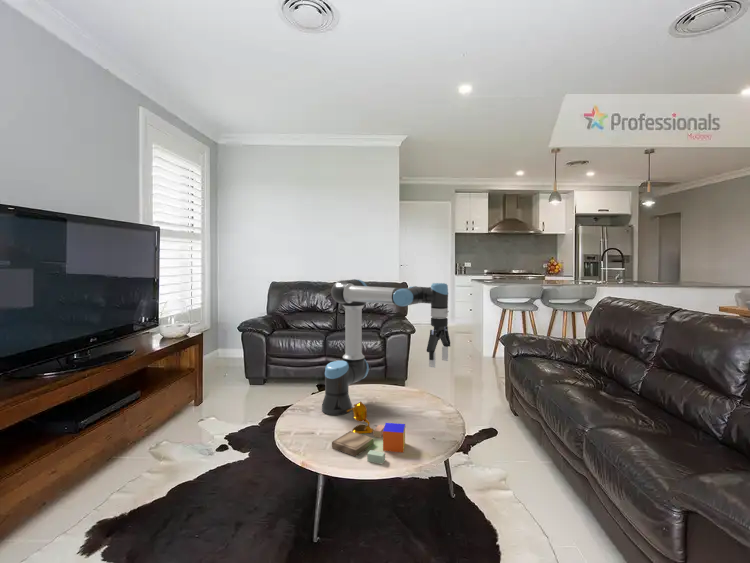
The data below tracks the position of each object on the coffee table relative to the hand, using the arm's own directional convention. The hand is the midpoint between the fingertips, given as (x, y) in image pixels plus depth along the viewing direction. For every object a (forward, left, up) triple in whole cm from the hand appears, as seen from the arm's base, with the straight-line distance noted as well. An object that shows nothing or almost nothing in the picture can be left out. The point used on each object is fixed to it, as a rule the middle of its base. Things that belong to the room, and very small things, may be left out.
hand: (438, 363), depth 177 cm
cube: (-5, -30, -28) cm, 42 cm away
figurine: (-25, -25, -28) cm, 45 cm away
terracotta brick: (-16, -24, -28) cm, 41 cm away
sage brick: (-5, -43, -28) cm, 52 cm away
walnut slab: (-19, -39, -28) cm, 52 cm away
